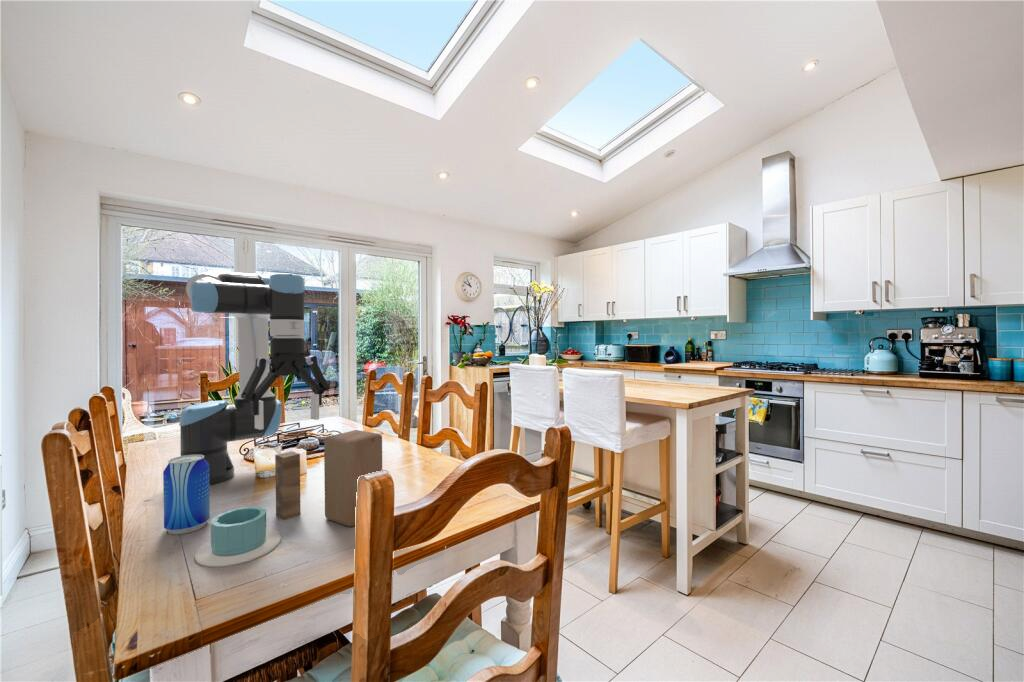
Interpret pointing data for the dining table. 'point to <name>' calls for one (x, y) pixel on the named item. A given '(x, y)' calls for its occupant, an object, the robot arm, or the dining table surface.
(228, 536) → the teal cup on saucer
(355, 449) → the wooden block
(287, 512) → the tall brown block
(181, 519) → the beer can
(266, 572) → the dining table surface
